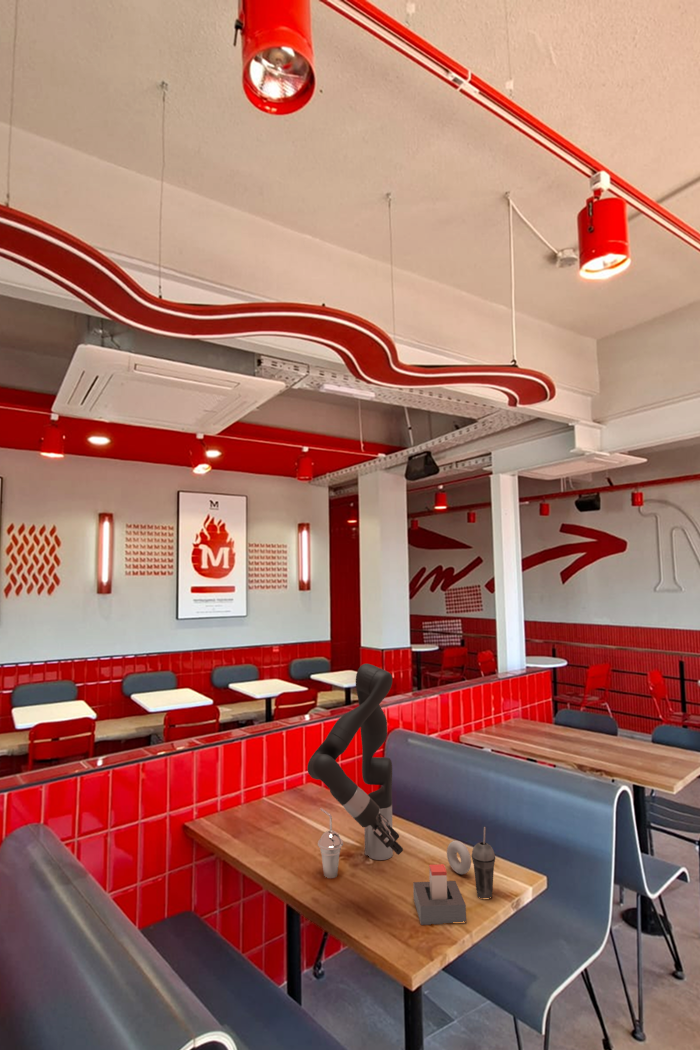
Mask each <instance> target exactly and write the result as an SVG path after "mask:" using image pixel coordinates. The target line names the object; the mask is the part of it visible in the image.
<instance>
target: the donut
mask: <svg viewBox="0 0 700 1050" xmlns="http://www.w3.org/2000/svg"><path fill="white" fill-rule="evenodd" d="M458 855H459V857H460V860H459V858H458ZM471 858H472V856H471V853H470V851H469V849H468V847H467V846H466V845H465V844H464V843H463V842H462V841H460V840H452V841H451V842H449V844H448V846H447V849H446V859H447V861H448V864H449V866H450V868H451V869H452V870H453V871H454V872H455V873H457V874H459V875H466V874H467V873H468V872H469V871H470V870H471V866H472V859H471Z"/></svg>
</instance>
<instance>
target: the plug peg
mask: <svg viewBox="0 0 700 1050" xmlns="http://www.w3.org/2000/svg"><path fill="white" fill-rule="evenodd" d="M428 866H429V867H428V869H429V882H430V900H445V899H447V881H448V879H447V878H448V877H447V876H448V874H447V873H448V872H447V869H446V866H445V864H444V863H442V864H441V863H439V864H429V865H428Z"/></svg>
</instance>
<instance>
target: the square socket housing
mask: <svg viewBox="0 0 700 1050" xmlns="http://www.w3.org/2000/svg"><path fill="white" fill-rule="evenodd" d="M412 885H413V887H412V888H413V902H414V906H415V909H416V913H417V916H418V919H419V920H418V921H419V922H420V923H419V924H420V925H421V926H424V925H425V926H427V925H428V926H431V924H434V925H444V924H443V923H453V922H463V921H464V922H465V921H466V922H467V907H466V906H467V904H466V902H465V901H464V900H465V899H464V897H463V894H462V893H461V891H460V888H459V887H458V883H457V882H456V880H447V899H445V900H430V881H414V882H413V884H412Z"/></svg>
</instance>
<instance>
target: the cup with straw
mask: <svg viewBox="0 0 700 1050" xmlns="http://www.w3.org/2000/svg"><path fill="white" fill-rule="evenodd" d="M319 810H320V811H321V812H323V813H325V814H326V815H327V816H328V817H329V830H327V831H325V832H323V833H322V835H321V836H320V839H319V840H318V841H317V847H318V848H320V849H319V850H320V854H321V862H322V871H323V877H324V876H325V877H324V878H326V877H327V878H326V879H335V878H337V876H338V871H339V864H340V853H341V849H342V847H343V846H344V841H343V839H342V838H341V837H340V835H339V833H338V831H337V832H336V831H335V830H333V821H332V819H333V818H332V814H331V813H330V812H328V811H326V809H324V808H323V807H320V809H319Z"/></svg>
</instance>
